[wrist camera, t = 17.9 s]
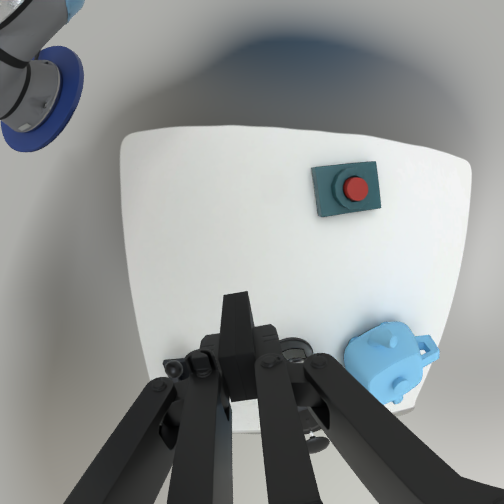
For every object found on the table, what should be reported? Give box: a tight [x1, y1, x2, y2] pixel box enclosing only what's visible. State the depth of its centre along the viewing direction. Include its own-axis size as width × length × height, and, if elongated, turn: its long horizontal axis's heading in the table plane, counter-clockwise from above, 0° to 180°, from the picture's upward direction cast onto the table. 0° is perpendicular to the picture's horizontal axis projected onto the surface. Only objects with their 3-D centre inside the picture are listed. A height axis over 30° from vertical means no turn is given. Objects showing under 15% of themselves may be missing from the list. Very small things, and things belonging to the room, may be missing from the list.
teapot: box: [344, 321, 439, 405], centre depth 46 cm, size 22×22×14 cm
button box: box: [311, 161, 381, 217], centre depth 43 cm, size 8×11×4 cm
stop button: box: [343, 177, 368, 201], centre depth 41 cm, size 4×4×2 cm
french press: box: [279, 338, 330, 454], centre depth 42 cm, size 12×9×23 cm
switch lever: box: [165, 360, 183, 383], centre depth 43 cm, size 13×3×3 cm, turn 10°
